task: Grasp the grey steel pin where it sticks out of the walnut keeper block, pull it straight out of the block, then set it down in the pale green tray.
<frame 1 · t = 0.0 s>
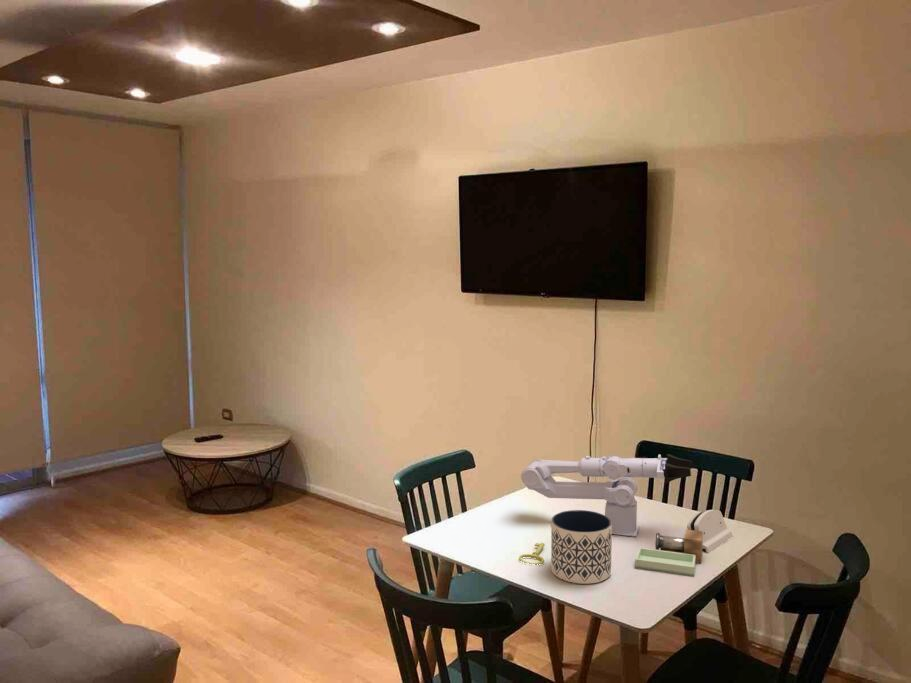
hand: (691, 468, 213), 22 cm above the table, tool horizontal, fingers open, 7 cm apart
key: (535, 559, 205), on the table
pin: (677, 555, 205), resting on keeper
keeper: (679, 555, 205), on the table
white curved plastic device: (708, 542, 214), on the table
planter: (580, 572, 196), on the table
tray: (665, 565, 198), on the table
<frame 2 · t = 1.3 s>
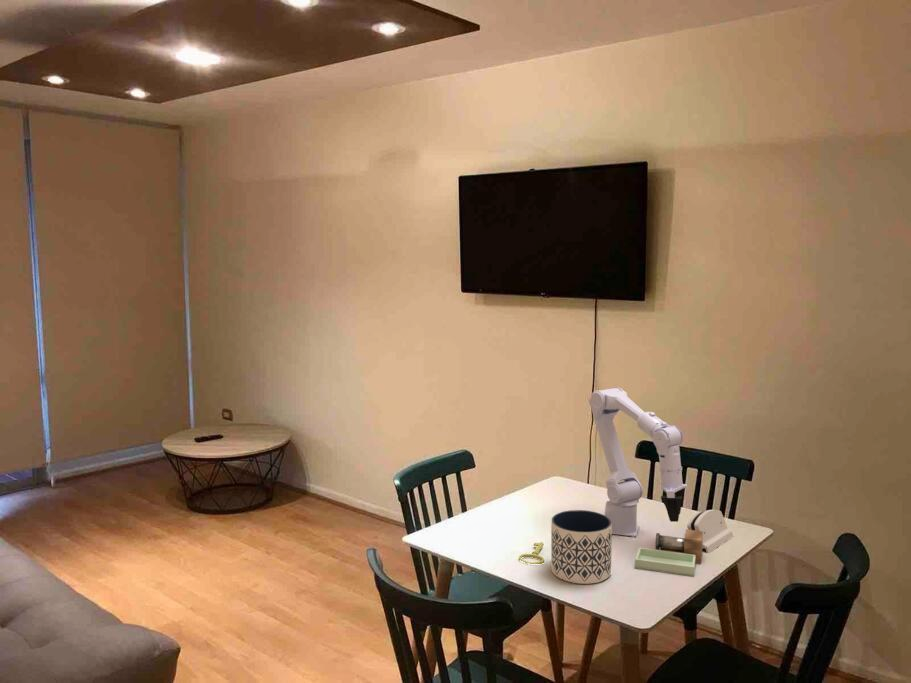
hand: (675, 517, 204), 11 cm above the table, tool pointing down, fingers open, 7 cm apart
nothing on the table moved.
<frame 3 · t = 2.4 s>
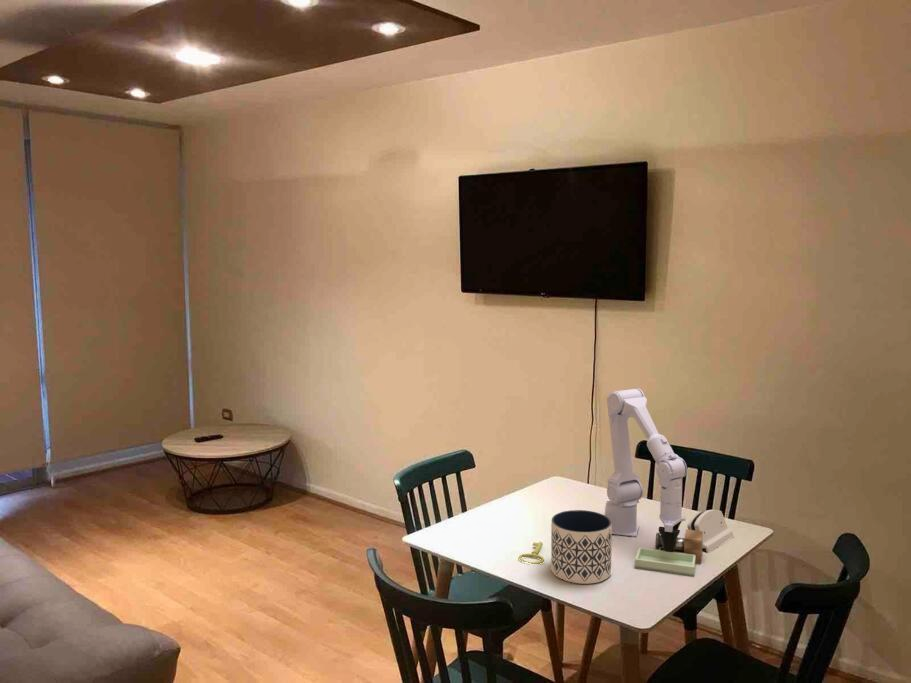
hand: (670, 547, 205), 2 cm above the table, tool pointing down, fingers open, 7 cm apart
nothing on the table moved.
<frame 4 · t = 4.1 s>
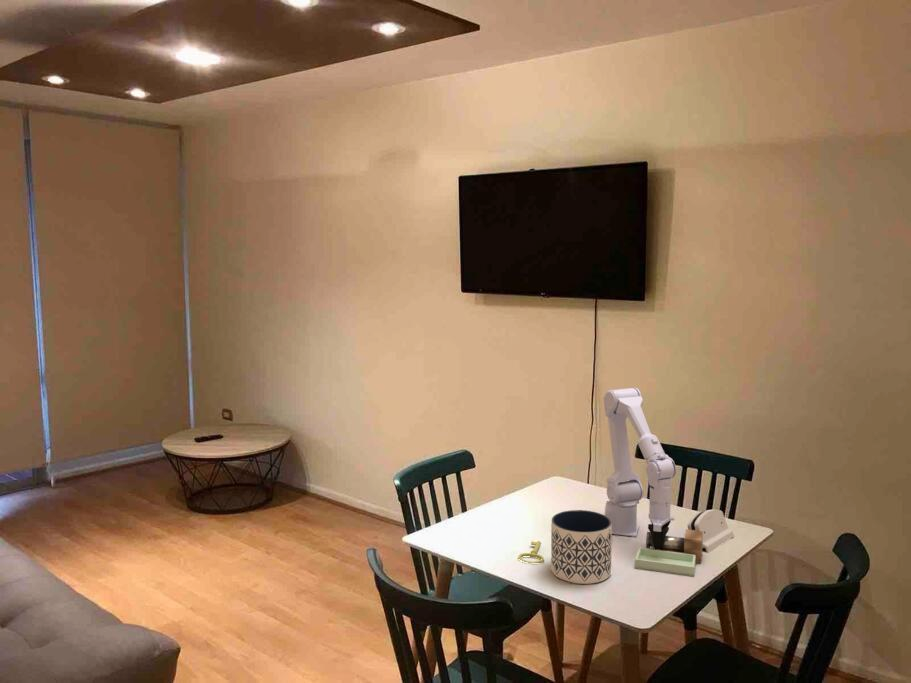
hand: (658, 546, 206), 2 cm above the table, tool pointing down, fingers closed on pin, 3 cm apart
pin: (667, 554, 206), resting in keeper, touching gripper
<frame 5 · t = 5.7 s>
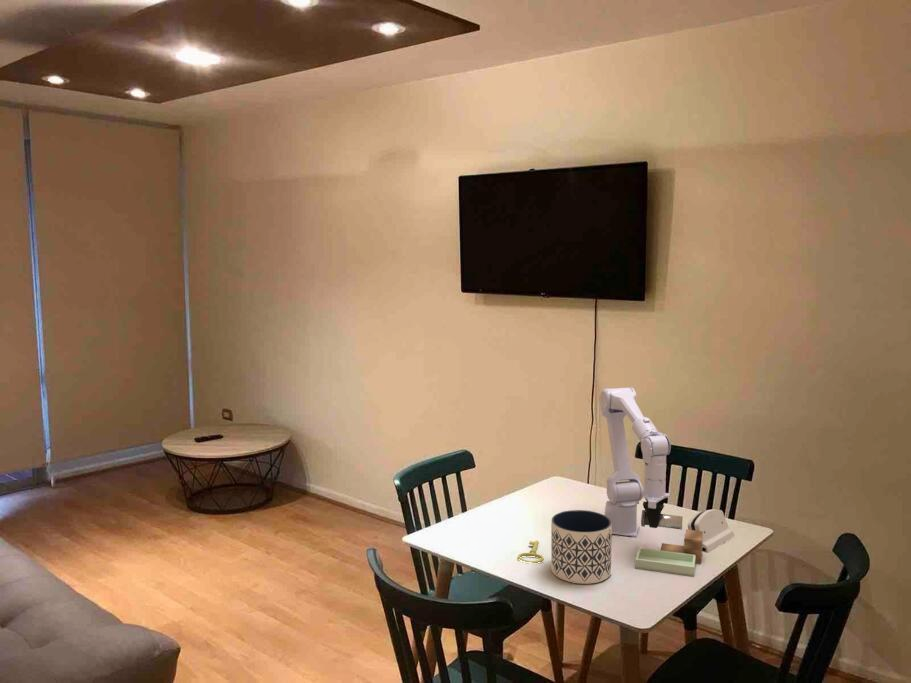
hand: (654, 524, 204), 9 cm above the table, tool pointing down, fingers closed on pin, 3 cm apart
pin: (663, 532, 203), point 7 cm above the table, touching gripper
when the fingers open (3 cm above the table, at t = 7.6 s): pin drops 2 cm, resting on tray.
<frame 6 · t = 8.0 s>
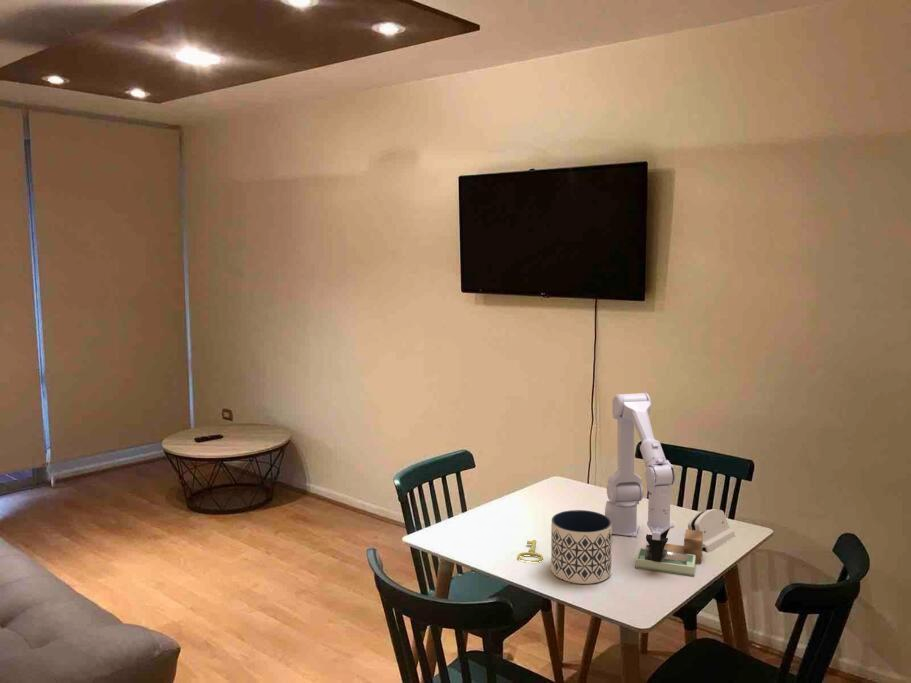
hand: (658, 555, 199), 3 cm above the table, tool pointing down, fingers open, 7 cm apart
pin: (666, 568, 198), resting on tray
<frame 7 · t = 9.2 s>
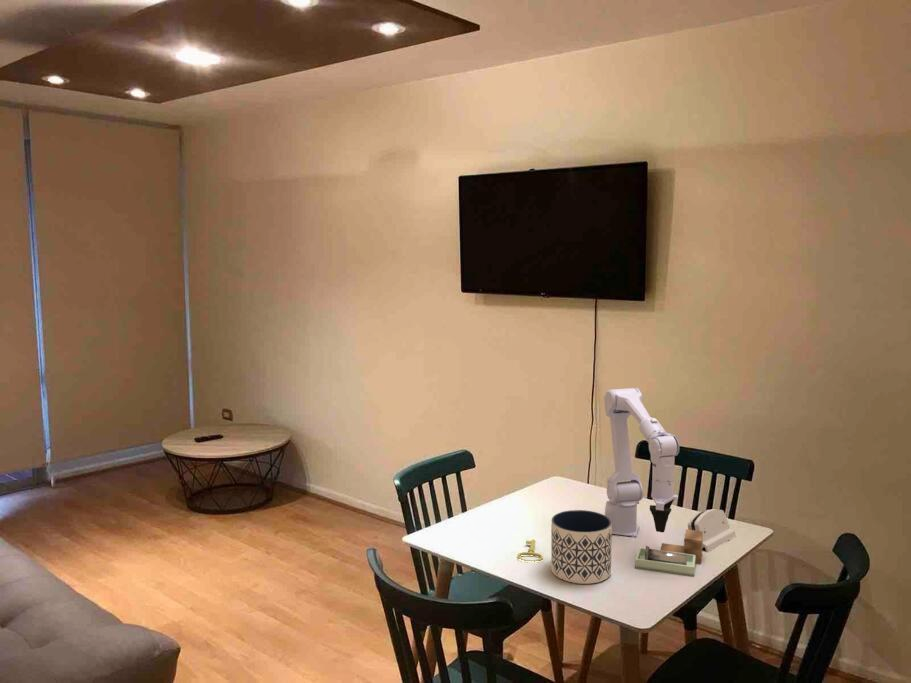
hand: (661, 526, 201), 10 cm above the table, tool pointing down, fingers open, 7 cm apart
pin: (666, 566, 199), resting on tray, tilted 29°
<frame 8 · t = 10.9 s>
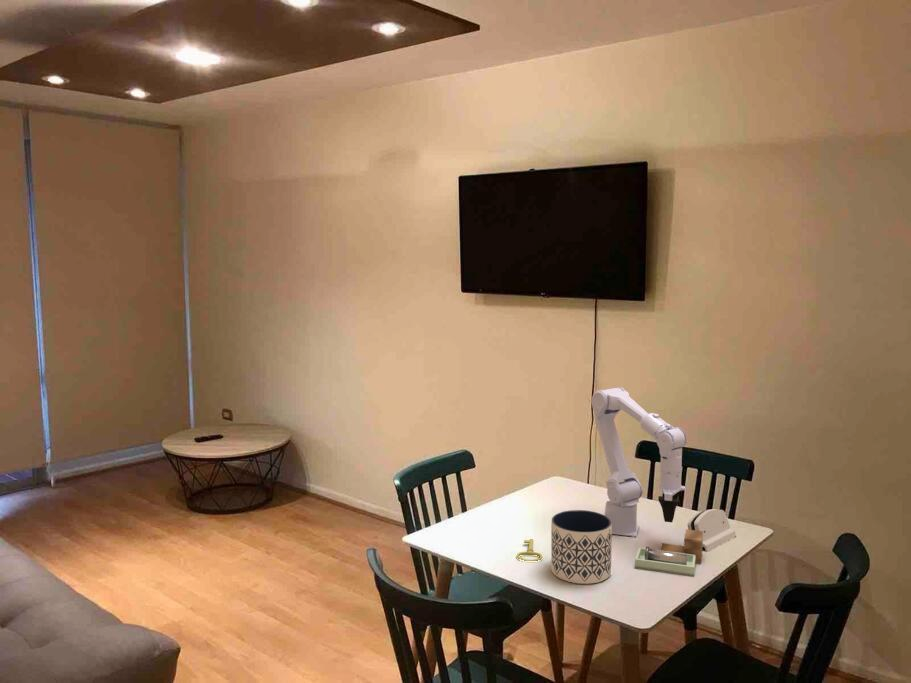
hand: (669, 516, 207), 10 cm above the table, tool pointing down, fingers open, 7 cm apart
at the end: pin inside the target area on the tray (0.7 cm from its centre), point 0.0 cm above the tray's base; pin touching tray; the gripper is holding nothing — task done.
